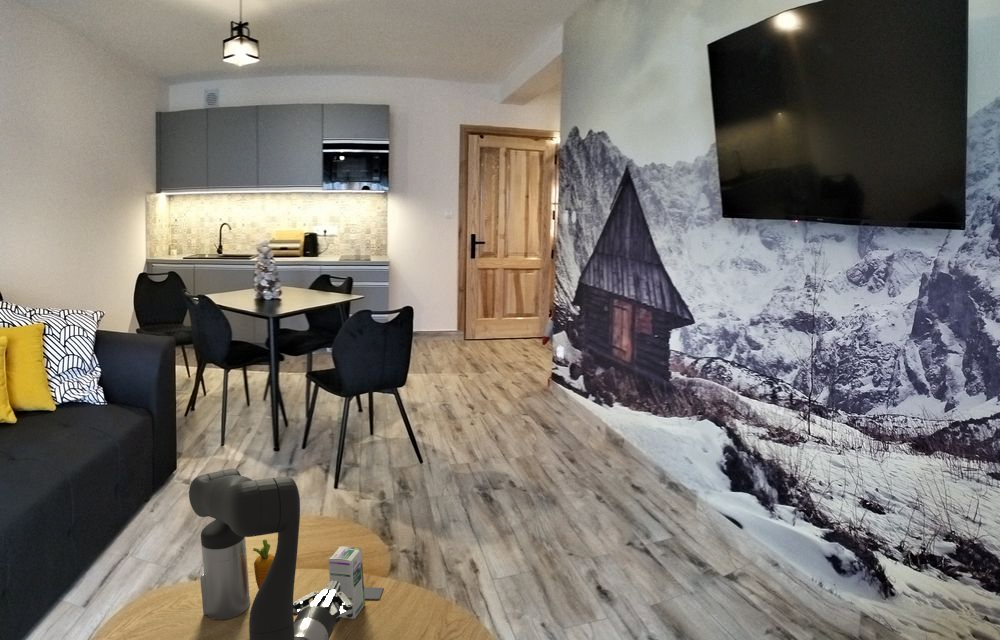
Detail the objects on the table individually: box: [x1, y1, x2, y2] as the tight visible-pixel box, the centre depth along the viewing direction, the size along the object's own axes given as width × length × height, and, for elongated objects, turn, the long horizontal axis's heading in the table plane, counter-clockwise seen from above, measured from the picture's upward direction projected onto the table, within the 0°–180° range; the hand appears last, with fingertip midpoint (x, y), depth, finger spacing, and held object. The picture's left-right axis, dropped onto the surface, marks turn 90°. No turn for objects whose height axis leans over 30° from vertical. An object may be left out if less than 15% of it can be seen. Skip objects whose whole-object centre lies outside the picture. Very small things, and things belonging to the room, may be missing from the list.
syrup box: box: [328, 545, 366, 620], centre depth 148 cm, size 6×6×14 cm
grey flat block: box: [364, 586, 384, 601], centre depth 156 cm, size 8×4×1 cm, turn 88°
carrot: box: [252, 539, 275, 590], centre depth 152 cm, size 5×5×15 cm
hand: (335, 584), depth 139 cm, fingers closed
